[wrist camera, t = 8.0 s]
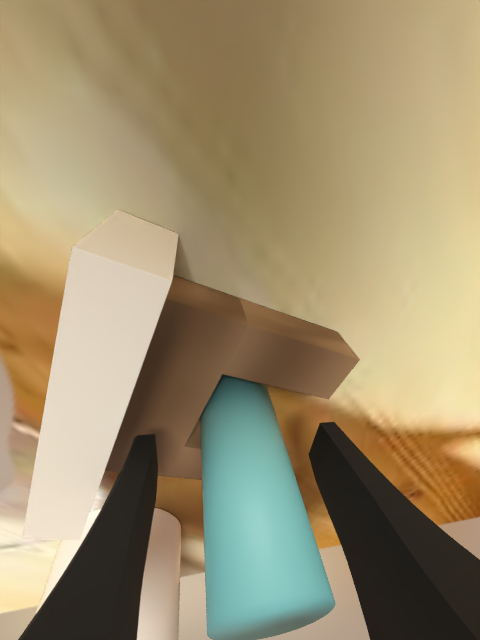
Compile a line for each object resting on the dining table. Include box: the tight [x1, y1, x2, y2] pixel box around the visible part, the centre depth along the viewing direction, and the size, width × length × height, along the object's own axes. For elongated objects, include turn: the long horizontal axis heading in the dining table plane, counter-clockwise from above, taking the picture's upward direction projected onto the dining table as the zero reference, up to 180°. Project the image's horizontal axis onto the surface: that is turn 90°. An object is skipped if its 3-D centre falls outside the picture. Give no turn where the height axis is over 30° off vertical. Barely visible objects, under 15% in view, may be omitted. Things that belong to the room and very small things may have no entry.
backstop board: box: [22, 210, 179, 540], centre depth 10 cm, size 2×12×4 cm, turn 156°
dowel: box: [200, 374, 335, 640], centre depth 10 cm, size 3×3×8 cm
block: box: [105, 276, 360, 480], centre depth 12 cm, size 8×9×2 cm
